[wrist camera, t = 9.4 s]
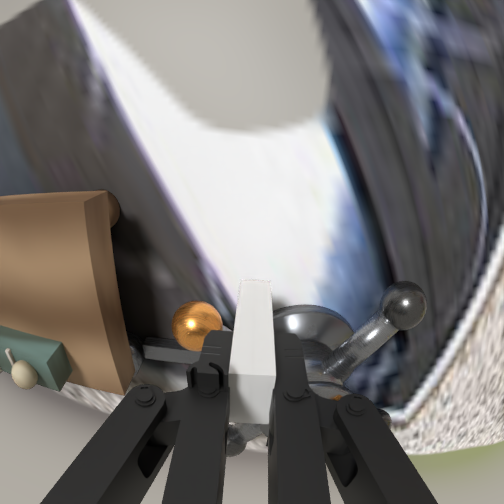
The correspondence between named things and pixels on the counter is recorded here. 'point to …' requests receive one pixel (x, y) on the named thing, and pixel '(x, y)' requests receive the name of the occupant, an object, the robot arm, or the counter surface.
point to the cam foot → (284, 321)
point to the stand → (61, 292)
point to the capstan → (314, 347)
